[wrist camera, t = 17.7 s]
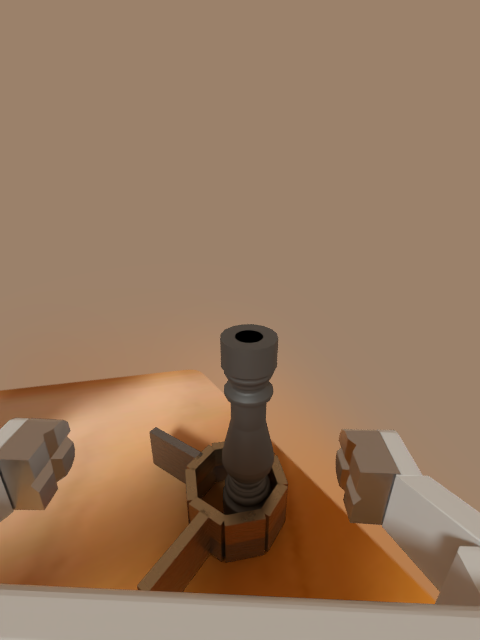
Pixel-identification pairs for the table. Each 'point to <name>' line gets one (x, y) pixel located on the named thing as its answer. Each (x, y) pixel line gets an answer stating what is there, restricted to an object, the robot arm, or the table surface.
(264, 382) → the candle holder
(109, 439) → the table surface
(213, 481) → the octagonal collar with flanges
